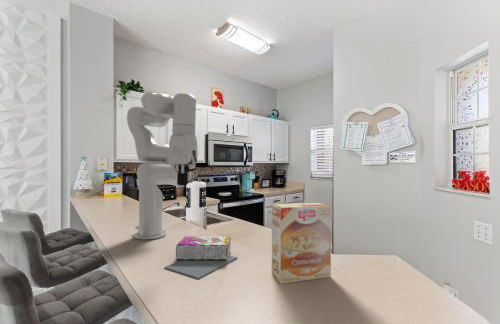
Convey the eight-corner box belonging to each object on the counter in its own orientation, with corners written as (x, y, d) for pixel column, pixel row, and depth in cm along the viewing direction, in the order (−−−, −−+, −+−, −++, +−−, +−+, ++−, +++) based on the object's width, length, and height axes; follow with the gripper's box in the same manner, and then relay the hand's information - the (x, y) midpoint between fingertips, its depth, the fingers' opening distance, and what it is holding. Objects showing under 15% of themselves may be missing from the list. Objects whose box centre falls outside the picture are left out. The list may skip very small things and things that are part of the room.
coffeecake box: (280, 284, 63) (280, 207, 64) (270, 273, 70) (271, 203, 71) (332, 277, 67) (331, 205, 68) (318, 267, 74) (318, 201, 75)
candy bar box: (185, 235, 90) (230, 235, 89) (184, 249, 89) (230, 249, 89) (175, 244, 78) (227, 244, 78) (175, 260, 78) (227, 261, 78)
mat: (164, 268, 73) (164, 266, 73) (206, 251, 88) (206, 250, 88) (198, 279, 66) (198, 277, 66) (237, 258, 81) (237, 257, 81)
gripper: (160, 130, 86) (158, 184, 86) (191, 128, 78) (190, 187, 78) (177, 133, 92) (175, 182, 92) (207, 131, 84) (206, 185, 84)
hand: (182, 184), depth 85 cm, fingers closed
